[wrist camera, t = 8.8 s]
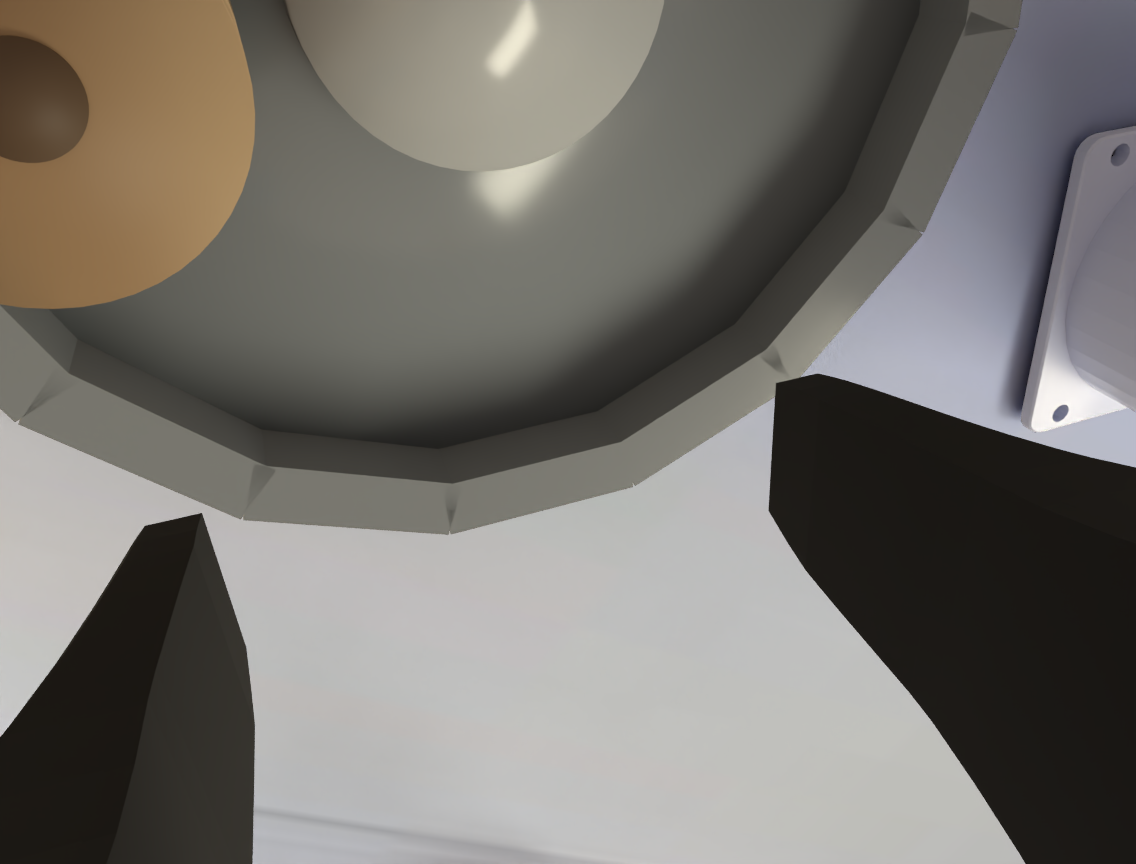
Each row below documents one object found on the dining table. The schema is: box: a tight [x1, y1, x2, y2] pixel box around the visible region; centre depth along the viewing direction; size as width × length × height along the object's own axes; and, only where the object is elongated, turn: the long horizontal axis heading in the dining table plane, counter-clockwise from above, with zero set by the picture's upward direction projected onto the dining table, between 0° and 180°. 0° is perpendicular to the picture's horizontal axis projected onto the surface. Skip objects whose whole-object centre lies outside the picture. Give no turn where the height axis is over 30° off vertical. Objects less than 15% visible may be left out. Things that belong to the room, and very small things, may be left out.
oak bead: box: [0, 0, 255, 309], centre depth 12 cm, size 4×4×6 cm
